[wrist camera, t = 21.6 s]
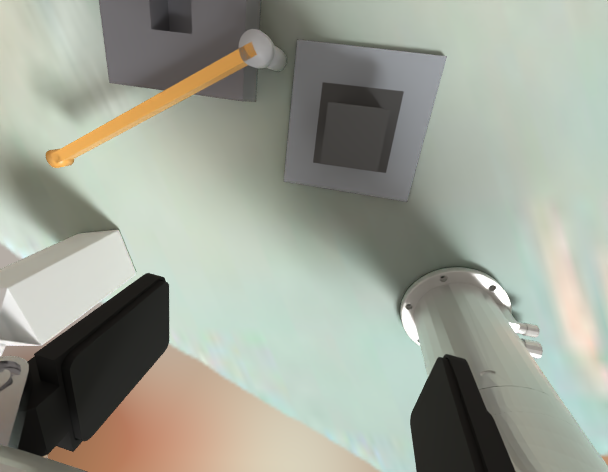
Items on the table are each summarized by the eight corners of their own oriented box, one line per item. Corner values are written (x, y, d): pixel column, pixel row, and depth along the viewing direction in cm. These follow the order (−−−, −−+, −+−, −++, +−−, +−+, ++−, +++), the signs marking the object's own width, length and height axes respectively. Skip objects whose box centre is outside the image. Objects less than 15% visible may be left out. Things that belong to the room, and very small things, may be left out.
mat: (445, 57, 28) (446, 56, 28) (406, 200, 34) (406, 201, 34) (298, 40, 30) (297, 39, 29) (284, 180, 36) (283, 181, 35)
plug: (398, 92, 30) (420, 86, 19) (383, 165, 33) (394, 196, 22) (327, 84, 30) (308, 73, 19) (318, 155, 33) (297, 181, 22)
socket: (297, -68, 27) (283, -107, 22) (282, 105, 33) (268, 105, 28) (120, -81, 29) (69, -120, 24) (135, 85, 34) (97, 81, 29)
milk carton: (78, 232, 44) (-103, 315, 27) (120, 228, 42) (-44, 313, 25) (98, 275, 47) (-56, 376, 29) (138, 273, 45) (0, 377, 28)
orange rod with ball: (266, 26, 25) (261, 22, 24) (279, 60, 26) (275, 57, 24) (53, 148, 33) (39, 150, 31) (68, 171, 33) (55, 174, 32)
